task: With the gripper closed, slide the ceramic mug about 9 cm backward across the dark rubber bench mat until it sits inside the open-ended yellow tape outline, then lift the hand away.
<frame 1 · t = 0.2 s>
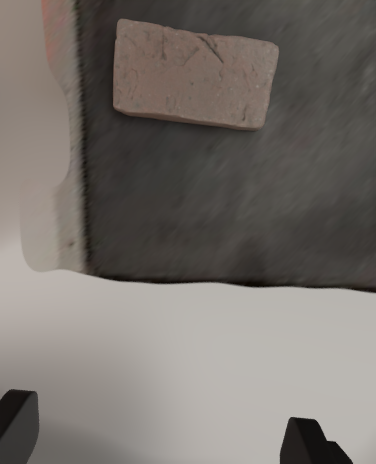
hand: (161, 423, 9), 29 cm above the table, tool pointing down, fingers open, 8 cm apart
brick: (194, 85, 33), on the table
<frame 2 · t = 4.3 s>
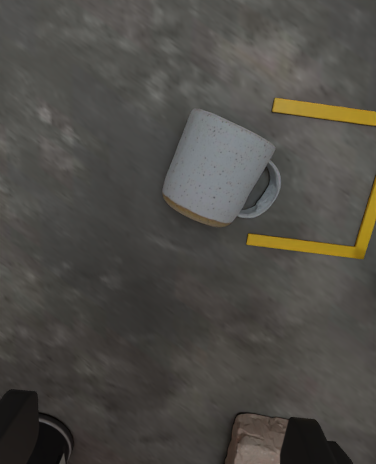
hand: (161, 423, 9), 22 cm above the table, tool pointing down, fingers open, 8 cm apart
ceramic mug: (224, 171, 29), on the table
brick: (251, 460, 39), on the table
tape outline: (317, 183, 29), on the table
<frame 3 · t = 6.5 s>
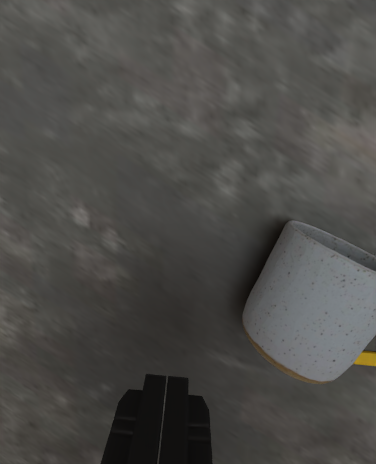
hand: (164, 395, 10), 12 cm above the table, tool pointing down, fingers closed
ceramic mug: (310, 277, 22), on the table
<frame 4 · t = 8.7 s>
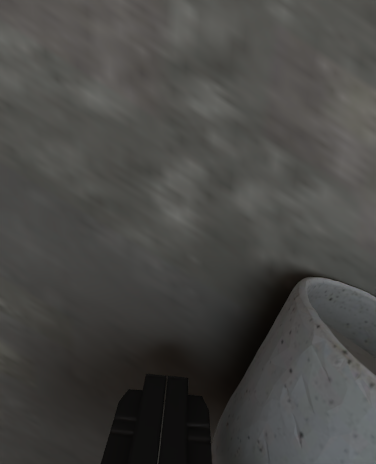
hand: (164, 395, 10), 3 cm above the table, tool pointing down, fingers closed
ceramic mug: (333, 362, 13), on the table, touching gripper
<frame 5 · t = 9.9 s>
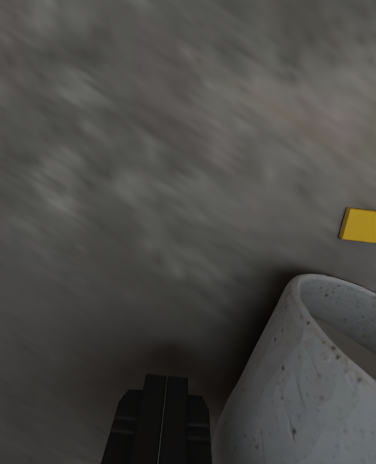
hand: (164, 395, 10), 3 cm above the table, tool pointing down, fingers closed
ceramic mug: (332, 358, 13), on the table, touching gripper
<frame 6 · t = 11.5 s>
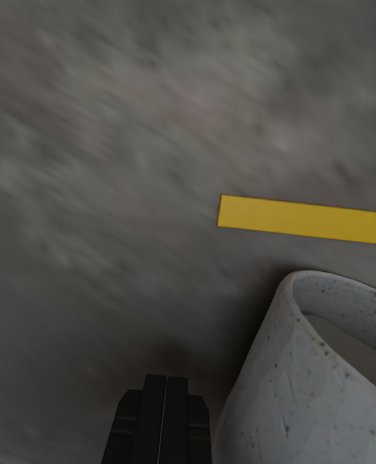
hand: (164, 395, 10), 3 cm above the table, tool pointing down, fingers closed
ceramic mug: (333, 354, 13), on the table, touching gripper, tape outline
tape outline: (331, 367, 13), on the table
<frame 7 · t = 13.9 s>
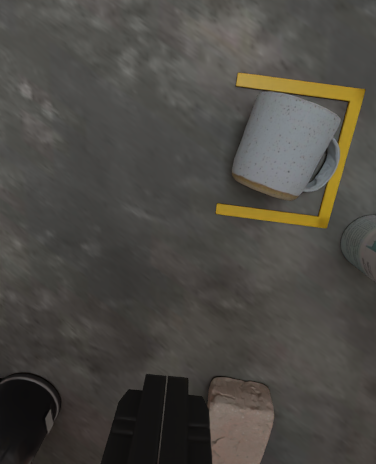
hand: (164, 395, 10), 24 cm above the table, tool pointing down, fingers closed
ceramic mug: (282, 150, 30), on the table
spray paint can: (366, 240, 33), on the table
brick: (228, 422, 42), on the table
tape outline: (281, 155, 30), on the table
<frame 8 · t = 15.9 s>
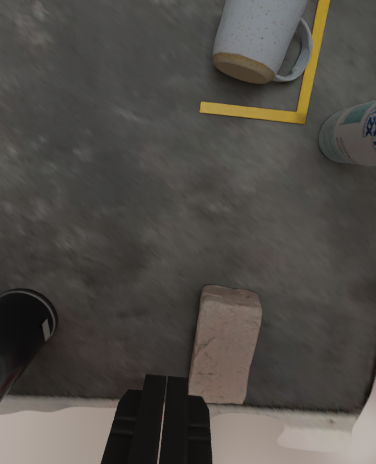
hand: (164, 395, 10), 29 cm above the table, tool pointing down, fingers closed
ceramic mug: (260, 46, 33), on the table
spray paint can: (342, 136, 35), on the table
brick: (220, 334, 43), on the table
tape outline: (259, 50, 32), on the table
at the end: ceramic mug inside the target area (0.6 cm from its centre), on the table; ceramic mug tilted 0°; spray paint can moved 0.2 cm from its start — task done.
